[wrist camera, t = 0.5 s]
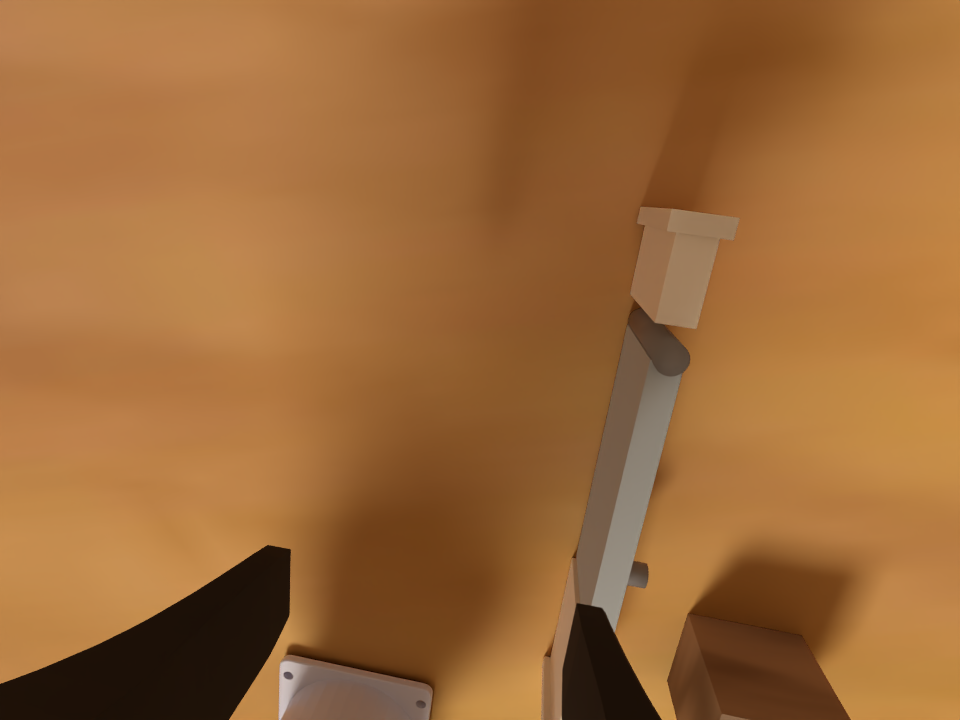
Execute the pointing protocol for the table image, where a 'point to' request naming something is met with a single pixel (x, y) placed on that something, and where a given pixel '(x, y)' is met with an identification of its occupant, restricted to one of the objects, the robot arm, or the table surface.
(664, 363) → the door
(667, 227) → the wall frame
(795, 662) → the block
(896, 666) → the table surface
